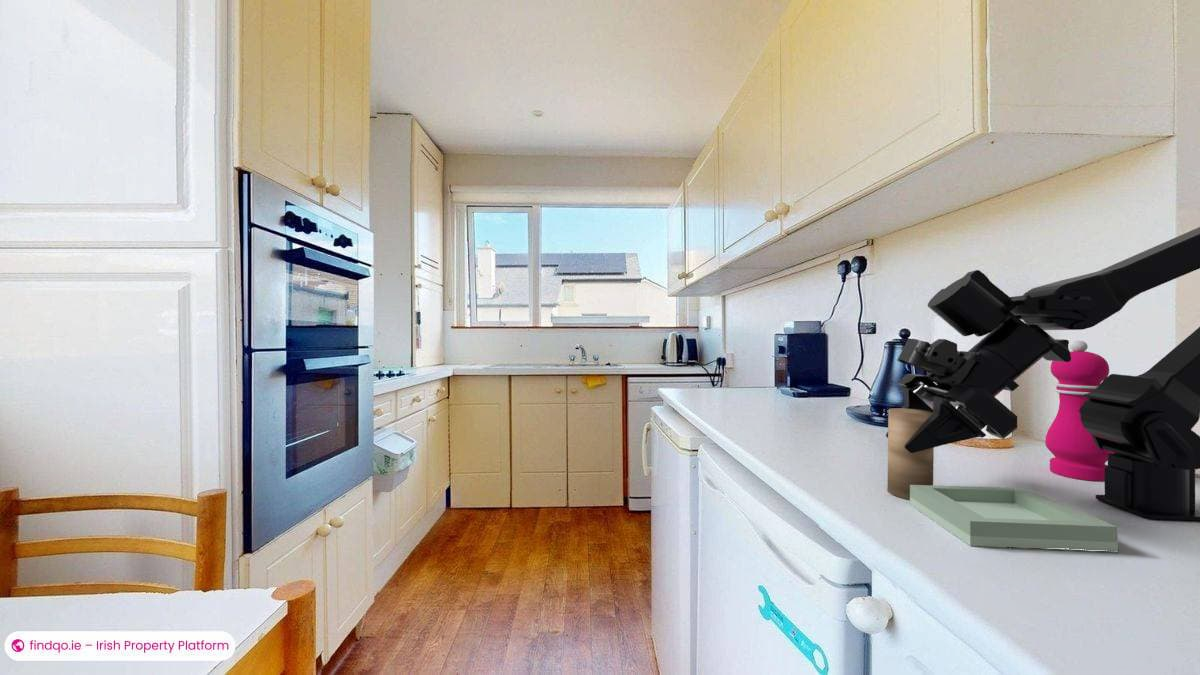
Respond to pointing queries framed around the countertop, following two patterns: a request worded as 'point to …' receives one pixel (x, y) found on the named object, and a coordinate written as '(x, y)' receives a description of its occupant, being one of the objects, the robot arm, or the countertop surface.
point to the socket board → (1011, 518)
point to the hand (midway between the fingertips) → (897, 444)
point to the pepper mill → (1076, 417)
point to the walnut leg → (907, 452)
